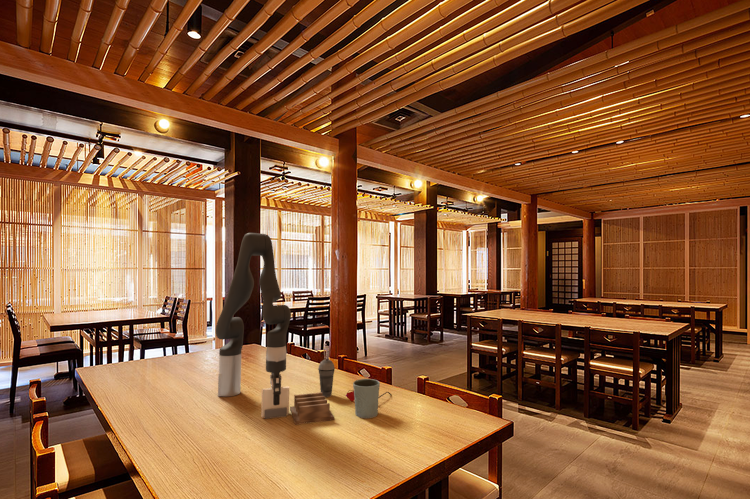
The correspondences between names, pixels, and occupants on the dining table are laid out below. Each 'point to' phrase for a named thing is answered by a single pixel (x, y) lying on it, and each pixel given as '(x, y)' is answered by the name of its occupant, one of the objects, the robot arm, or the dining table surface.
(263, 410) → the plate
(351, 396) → the glasses
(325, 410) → the dish rack
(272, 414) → the plate stand
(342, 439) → the dining table surface
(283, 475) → the dining table surface
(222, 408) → the dining table surface
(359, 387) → the grey green cup
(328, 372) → the beverage cup
